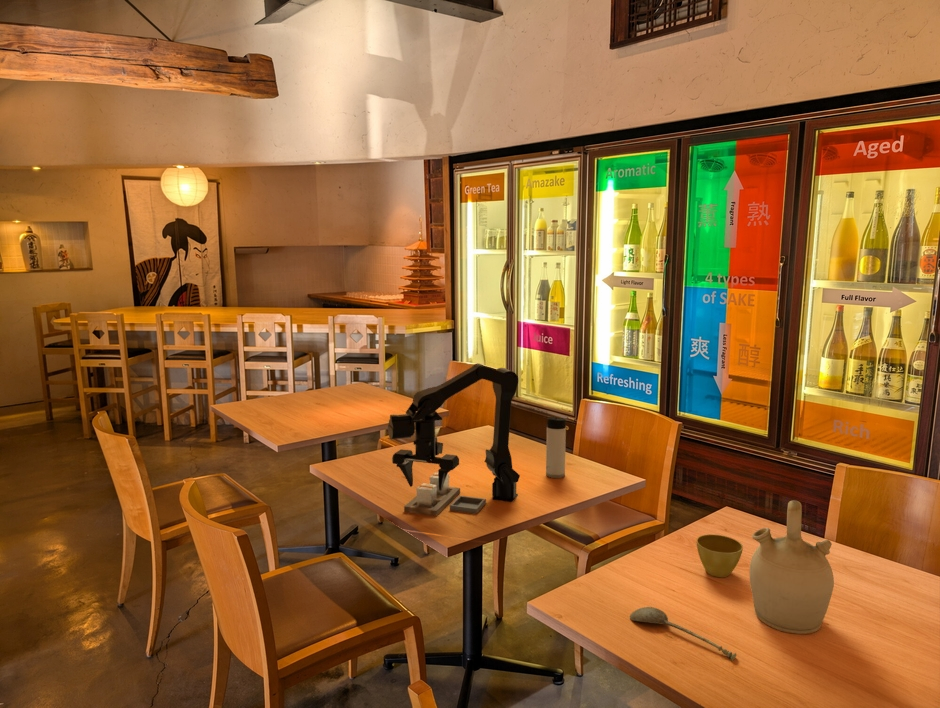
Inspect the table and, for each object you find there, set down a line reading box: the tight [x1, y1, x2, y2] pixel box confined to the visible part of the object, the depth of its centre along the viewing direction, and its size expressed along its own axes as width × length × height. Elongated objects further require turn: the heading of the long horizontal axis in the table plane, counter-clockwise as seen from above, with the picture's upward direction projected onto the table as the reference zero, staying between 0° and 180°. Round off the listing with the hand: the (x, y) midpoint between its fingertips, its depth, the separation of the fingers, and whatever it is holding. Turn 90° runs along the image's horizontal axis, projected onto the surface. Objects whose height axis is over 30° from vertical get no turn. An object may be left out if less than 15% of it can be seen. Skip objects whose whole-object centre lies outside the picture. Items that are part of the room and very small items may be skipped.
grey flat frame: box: [403, 486, 461, 517], centre depth 194 cm, size 10×19×2 cm, turn 160°
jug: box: [749, 499, 835, 635], centre depth 131 cm, size 15×16×25 cm
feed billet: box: [416, 482, 437, 508], centre depth 189 cm, size 4×4×7 cm
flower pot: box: [696, 534, 744, 578], centre depth 152 cm, size 10×10×7 cm
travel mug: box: [545, 416, 567, 479], centre depth 217 cm, size 6×7×20 cm
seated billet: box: [429, 472, 450, 496], centre depth 199 cm, size 4×4×7 cm
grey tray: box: [449, 495, 487, 515], centre depth 191 cm, size 8×8×2 cm
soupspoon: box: [629, 606, 737, 662], centre depth 128 cm, size 22×3×7 cm
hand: (425, 488), depth 189 cm, fingers open, 9 cm apart
